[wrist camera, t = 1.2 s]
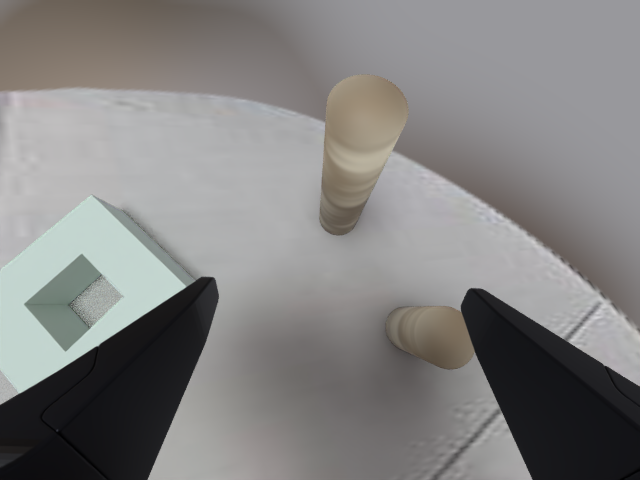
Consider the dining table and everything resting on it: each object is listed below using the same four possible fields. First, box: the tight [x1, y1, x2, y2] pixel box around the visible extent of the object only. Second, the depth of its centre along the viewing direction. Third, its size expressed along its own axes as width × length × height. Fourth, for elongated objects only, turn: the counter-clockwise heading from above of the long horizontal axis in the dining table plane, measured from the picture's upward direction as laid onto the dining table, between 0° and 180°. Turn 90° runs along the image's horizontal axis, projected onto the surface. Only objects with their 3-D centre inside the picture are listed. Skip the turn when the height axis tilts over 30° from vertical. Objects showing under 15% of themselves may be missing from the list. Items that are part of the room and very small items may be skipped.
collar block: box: [0, 195, 196, 394], centre depth 20 cm, size 12×12×4 cm
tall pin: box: [319, 75, 408, 235], centre depth 18 cm, size 4×4×14 cm
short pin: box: [386, 306, 475, 369], centre depth 19 cm, size 4×4×7 cm
